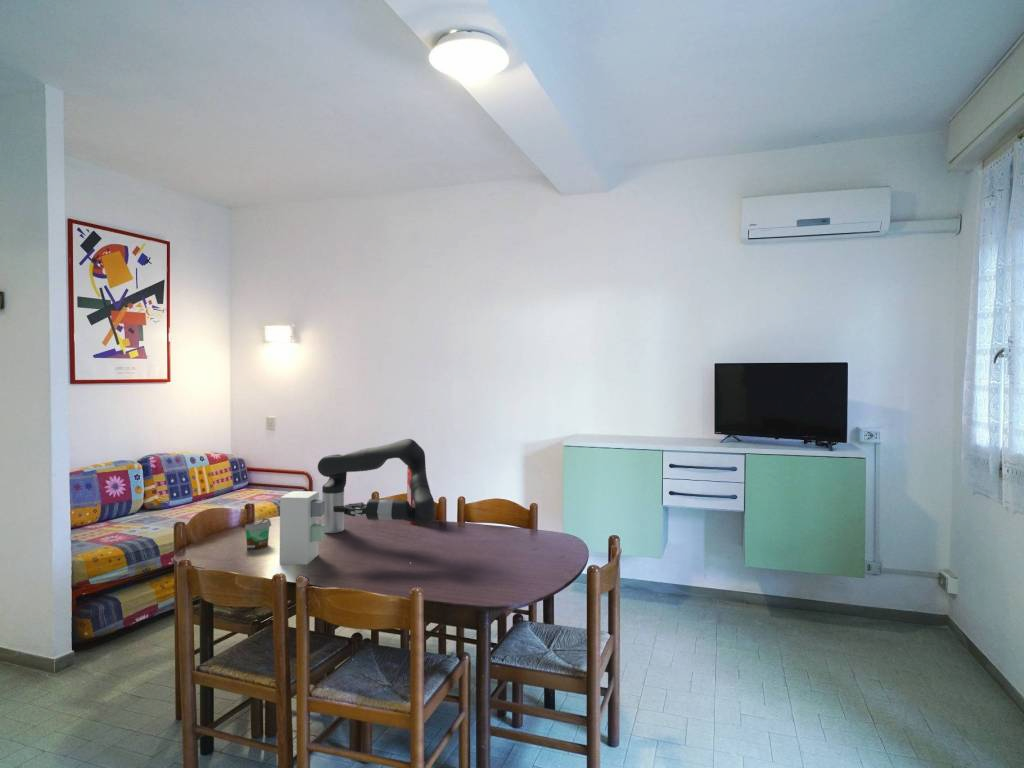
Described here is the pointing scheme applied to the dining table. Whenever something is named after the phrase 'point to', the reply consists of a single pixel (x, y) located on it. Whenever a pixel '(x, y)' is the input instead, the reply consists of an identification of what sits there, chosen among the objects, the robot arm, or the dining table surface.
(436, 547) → the dining table surface
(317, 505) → the grey square block
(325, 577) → the dining table surface
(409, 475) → the food packaging
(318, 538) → the sage key
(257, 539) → the food container
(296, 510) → the key tower
